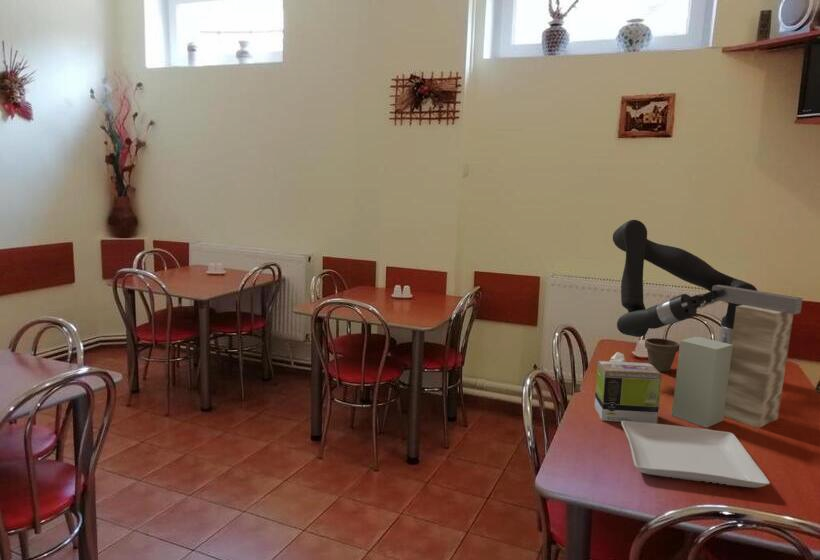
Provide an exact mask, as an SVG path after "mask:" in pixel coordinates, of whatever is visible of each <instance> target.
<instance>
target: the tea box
mask: <svg viewBox="0 0 820 560" xmlns="http://www.w3.org/2000/svg"><path fill="white" fill-rule="evenodd" d="M595 382H596V384H595V394H594V409H595V411H596V412H598V413H597V415H598V414H599V415H598V416H599V418H600V420H601V421H604V422H618V423H619V422H620V423H621V421H632V422H644V423H655V424H658V420H659V419H658V418H659V417H658V416H659V410H660V409H659V407H660V398H661V385H662V383H661V382H662V373H661V371H658V370H657V369H656V368H655V367H654V366H652V365H651V363H649V362H636V361H635V362H634V361H633V362H631V361H630V362H629V361H627V362H617V361H610V360H598V361H597V370H596V381H595Z"/></svg>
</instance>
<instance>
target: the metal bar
mask: <svg viewBox="0 0 820 560" xmlns="http://www.w3.org/2000/svg"><path fill="white" fill-rule="evenodd" d="M714 290H717V291H718V293H719V297H718V298H715V299H713V300H718V301H719V302H724V303H726V302H729V303H734V304H740V305H745V306H751V307H756V308H762V309H767V310H773V311H778V312H784V313H789V314H793V315H799V314H801V311H802V304H803V299H804V298H803V297H796V296H790V295H785V294H779V293H772V292H766V291H760V290H757V291H755V290H749V289H743V288H736V287H730V286H724V285H714V286H713V287H712V291H714ZM718 301H717V302H718Z"/></svg>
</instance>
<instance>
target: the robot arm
mask: <svg viewBox="0 0 820 560" xmlns="http://www.w3.org/2000/svg"><path fill="white" fill-rule="evenodd" d="M612 241H613V244H614V246H616V247H617V248H618V249H619V250H620V251H623V252H625V263H624V268H623V272H622V276H621V277H622V278H621V284H620V302H621V306H622V307H623V308H625V309H626V310H627V311H628V312H626V313H625V314H622V315H621V316H620V317H619V318H618V320H617V322H616V327H617V330H618V331H619V332H620V333H621V334H623V335H626V336H630V337H635V338H642V337H644V336H645V335H646V334H647V333H648V331H649V329H650V330H651V329H656V330H657V329H659V328H662V327H665V326H668V325H673V324H677V323H679V322H682V321H685V320H688V319H691V318H693V317H695V316H696V315H697V312H698V309H703V308H705V307H706V306H710V305H712V304H715V303H716V302H718V300H713V299H715V298H718V297H719V293H718V291H717V290H714V291H712V287H713V286H714V285H724V286H730V287H736V288H743V289H749V290H755V291H758V289H757V287H756V286H755V285H753V284H752V283H750V282H747V281H744V280H741V279H738V278H736V277H732V276H730V275H727V274H726V273H725V274H724V272H723V273H722V272H720V271H719V270H717V269H716V268H714V267H713V266H711V265H710V264H709V263H707V262H706V261H705V260H703V259H702V258H700V257H698V256H697V255H695V254H693V253H692V252H689V251H687V250H686V249H683V248H680V247H675V246H670V245H666V244H661V243H657V242H654V241H652V240H650V239H648V230H647V227H646V225H645V223H643V222H642V221H640V220H638V219H630V220H627V221H626V222H624V223H623V224H621V226H620V225H619V227H618V228H617V229H615V230H614V231H613V234H612ZM645 261H646V262H649V263H650V264H652V265H654V266H655V267H657V268H660V269H662V271H663V270H664V271H665V272H667V273H669V274H670V275H673V276H675V277H677V278H679V279H680V280H682V281H685V282H686V283H689V284H691V285H695V286H697V287H700V288H703V289H705V290H707V291H708V292H706V293H698V294H695V295H692V296H691V295H689V294H687V293H683V294H679V295H677V296H674V297H671V298H669V299H666V300H664V301H662V302H660V303H659V304H655V305H653V306H650V307H648V308H646V306H645V304H644V266H645V265H644V264H645ZM725 303H727V304H728V305H727V309H726V314H725V315H724V316H723V317H722V318H721V322H720V329H719V335H718V336H719V339H718V341H719V342H723V343H727V344H731V342H732V334H733V327H734V319H735V312H736V306H741V305H740V304H734V303H729V302H725Z"/></svg>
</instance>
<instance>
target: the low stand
mask: <svg viewBox="0 0 820 560" xmlns="http://www.w3.org/2000/svg"><path fill="white" fill-rule="evenodd" d="M679 344H680V346H679V351H678V359H677V367H676V376H675V385H674V392H673V393H674V394H673V399H672V400H673V401H672V410H671V416H672V417H676V418H679V419H681V420H683V421H687V422H689V423H692V424H695V425H698V426H701V427H704V428H706V429H708V428H710V427H712V426H714V425H716V424H718V423H721V422H722V421H724V416H723V415H724V408H725V400H726V393H727V385H728V378H729V371H730V363H731V356H732V348H733V345H732V344H727V343H723V342H719V340H715V339H714V340H713V339H710V338H705V337H701V336H693V337H689V338H685V339H681V340H680V342H679Z"/></svg>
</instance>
